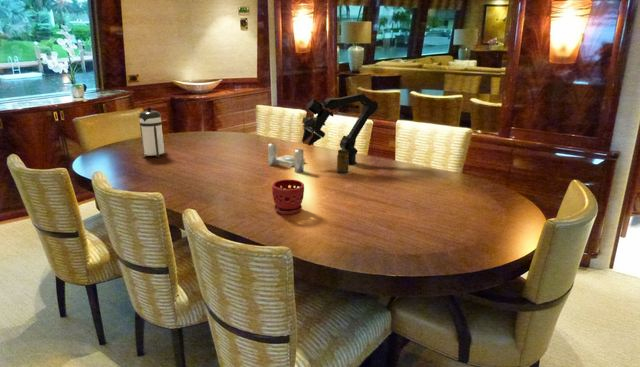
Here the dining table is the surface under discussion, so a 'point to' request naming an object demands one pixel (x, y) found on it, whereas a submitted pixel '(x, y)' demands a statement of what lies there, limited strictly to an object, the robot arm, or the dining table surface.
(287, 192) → the plant pot
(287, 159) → the scale
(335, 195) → the dining table surface
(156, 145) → the coffee press
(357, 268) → the dining table surface
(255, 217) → the dining table surface
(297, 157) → the shiny silver cylinder
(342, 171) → the condiment
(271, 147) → the cylinder
